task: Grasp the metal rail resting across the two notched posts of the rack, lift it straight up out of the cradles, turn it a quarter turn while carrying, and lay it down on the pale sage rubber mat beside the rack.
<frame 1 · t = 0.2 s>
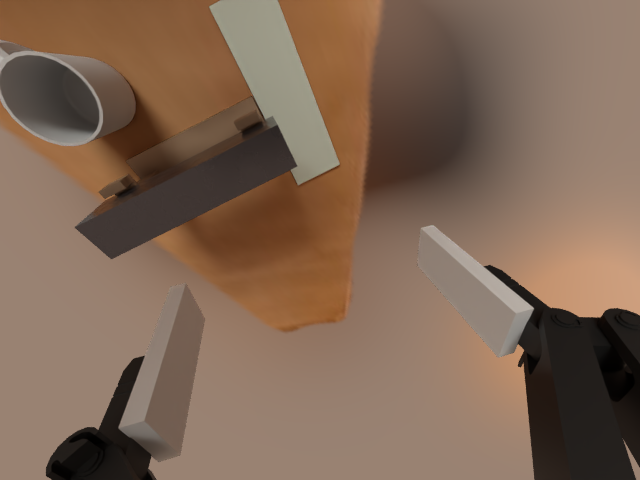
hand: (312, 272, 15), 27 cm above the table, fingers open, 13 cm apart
mat: (285, 99, 34), on the table
cup: (87, 86, 30), on the table
rail: (199, 175, 29), point 8 cm above the table, touching stand
stand: (208, 156, 36), on the table
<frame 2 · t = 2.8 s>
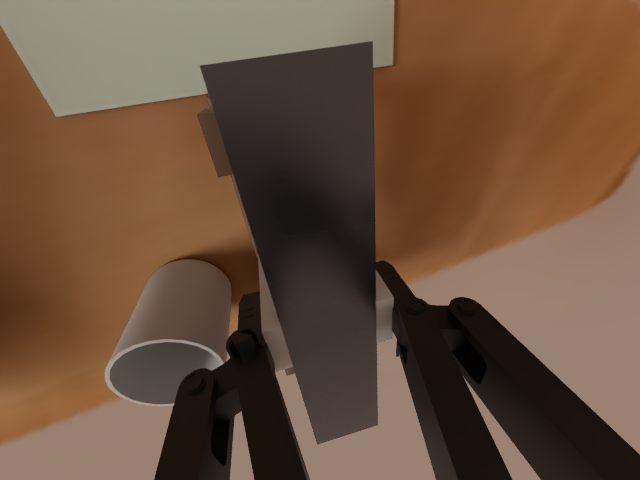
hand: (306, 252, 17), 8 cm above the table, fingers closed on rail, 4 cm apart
mat: (220, 22, 16), on the table
cup: (181, 294, 26), on the table
rail: (307, 255, 17), point 8 cm above the table, touching gripper, stand
stand: (290, 203, 23), on the table
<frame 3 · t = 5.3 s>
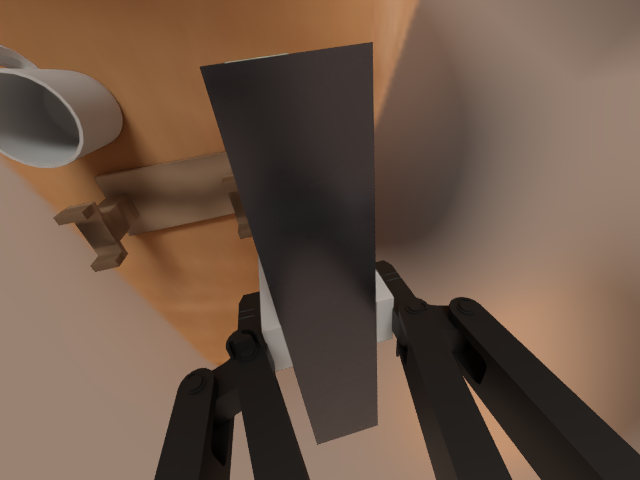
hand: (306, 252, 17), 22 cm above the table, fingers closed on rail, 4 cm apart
cup: (72, 97, 28), on the table
rail: (307, 255, 17), point 23 cm above the table, touching gripper
stand: (187, 191, 35), on the table
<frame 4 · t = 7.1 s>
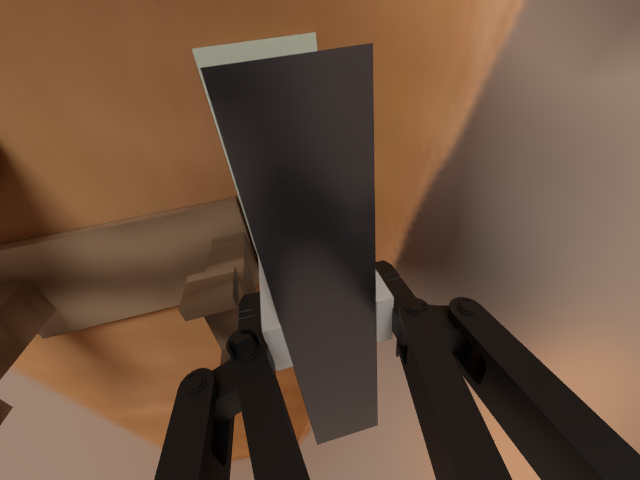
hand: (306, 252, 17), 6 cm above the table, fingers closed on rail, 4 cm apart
mat: (290, 210, 21), on the table
rail: (307, 256, 17), point 6 cm above the table, touching gripper
stand: (138, 266, 21), on the table
when the fingers open (3 cm above the table, at t = 7.9 s): rail drops 3 cm, resting on mat.
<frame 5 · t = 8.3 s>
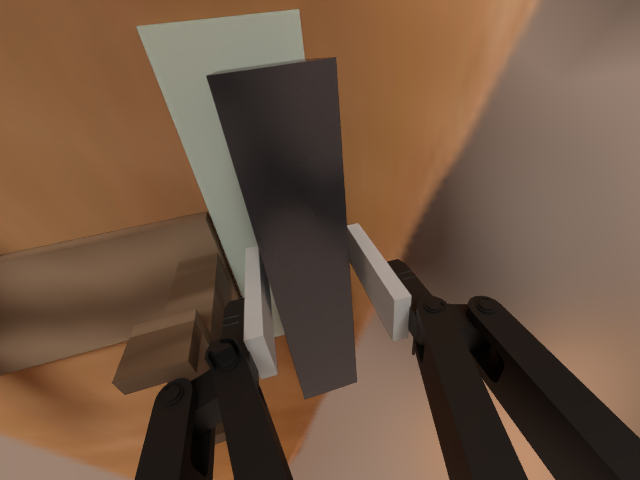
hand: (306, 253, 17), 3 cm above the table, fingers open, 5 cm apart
mat: (272, 225, 18), on the table
rail: (293, 235, 19), resting on mat
stand: (90, 294, 18), on the table
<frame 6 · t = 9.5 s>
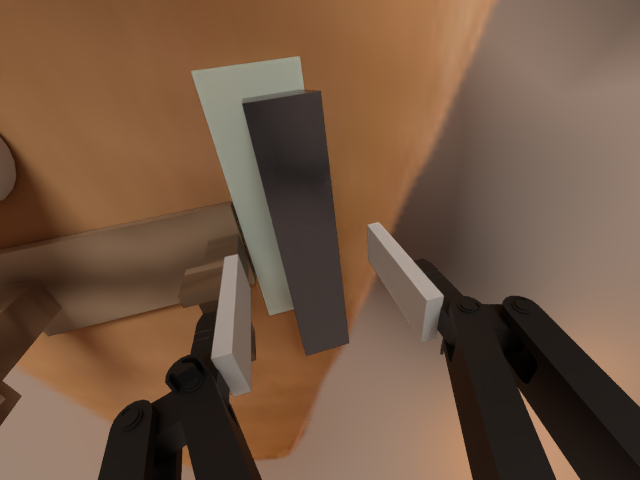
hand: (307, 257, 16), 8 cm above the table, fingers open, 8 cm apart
mat: (280, 213, 23), on the table
rail: (297, 221, 24), resting on mat
stand: (139, 266, 23), on the table
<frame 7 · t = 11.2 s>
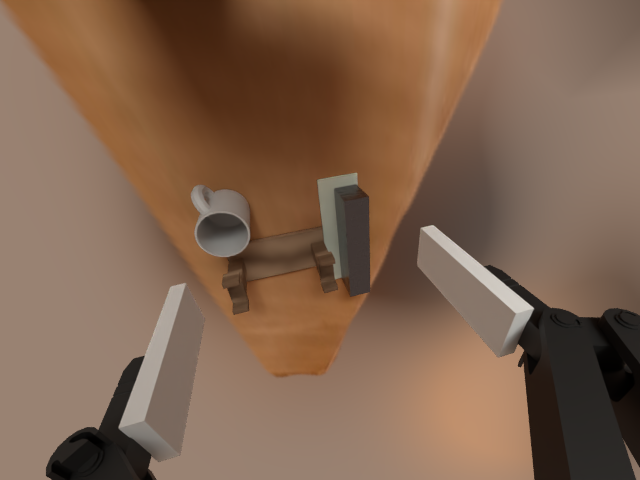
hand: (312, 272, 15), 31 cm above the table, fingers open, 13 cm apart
mat: (340, 231, 51), on the table
cup: (221, 202, 44), on the table
rail: (348, 235, 52), resting on mat
stand: (278, 253, 51), on the table
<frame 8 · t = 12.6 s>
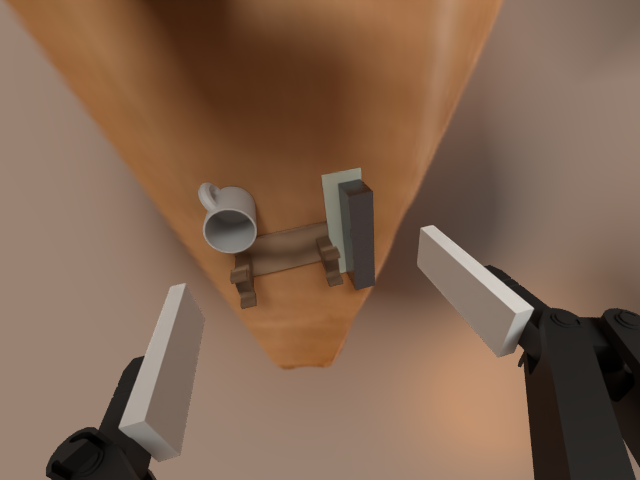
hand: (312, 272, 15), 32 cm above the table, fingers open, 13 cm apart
mat: (345, 226, 52), on the table
cup: (227, 199, 44), on the table
rail: (352, 229, 52), resting on mat
stand: (283, 249, 52), on the table
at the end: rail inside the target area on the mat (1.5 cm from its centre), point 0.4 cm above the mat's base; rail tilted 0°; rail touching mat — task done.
